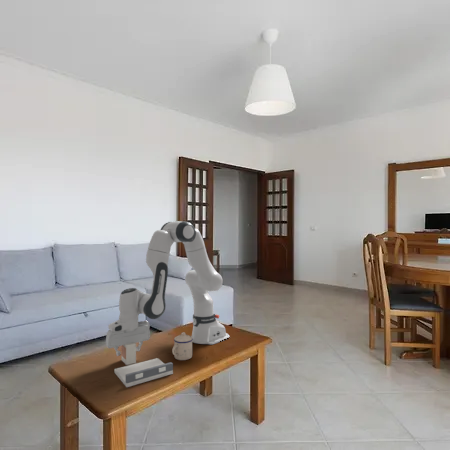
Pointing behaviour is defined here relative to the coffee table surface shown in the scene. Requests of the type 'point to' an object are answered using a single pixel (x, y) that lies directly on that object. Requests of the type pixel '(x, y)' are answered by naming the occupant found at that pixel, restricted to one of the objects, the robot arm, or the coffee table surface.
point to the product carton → (128, 353)
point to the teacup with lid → (182, 347)
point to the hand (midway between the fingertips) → (128, 353)
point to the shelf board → (143, 371)
